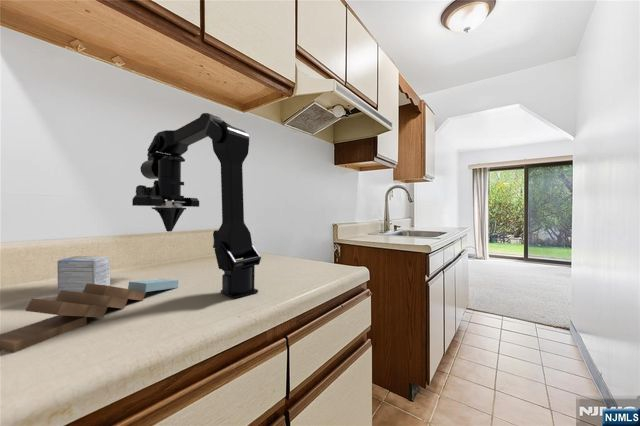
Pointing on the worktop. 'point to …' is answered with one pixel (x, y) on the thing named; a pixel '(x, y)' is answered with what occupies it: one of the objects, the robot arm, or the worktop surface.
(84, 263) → the medicine box
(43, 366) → the worktop surface
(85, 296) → the tile
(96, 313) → the tile
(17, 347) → the tile
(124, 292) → the tile
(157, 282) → the tile
